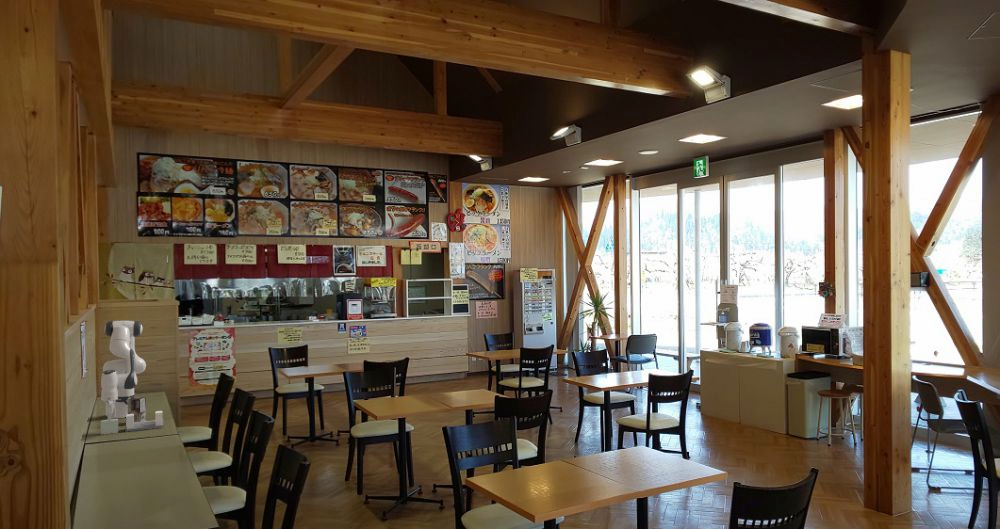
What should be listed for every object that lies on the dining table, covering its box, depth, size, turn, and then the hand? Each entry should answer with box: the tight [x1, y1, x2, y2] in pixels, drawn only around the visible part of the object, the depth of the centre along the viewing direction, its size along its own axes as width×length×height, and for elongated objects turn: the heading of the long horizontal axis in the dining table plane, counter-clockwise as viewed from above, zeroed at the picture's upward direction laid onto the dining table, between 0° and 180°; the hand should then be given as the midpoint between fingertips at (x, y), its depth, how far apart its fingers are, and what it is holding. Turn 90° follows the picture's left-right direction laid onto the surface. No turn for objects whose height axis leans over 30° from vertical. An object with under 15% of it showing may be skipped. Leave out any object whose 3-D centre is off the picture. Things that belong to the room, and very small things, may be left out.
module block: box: [100, 418, 119, 436], centre depth 411 cm, size 4×9×8 cm, turn 118°
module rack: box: [125, 410, 165, 433], centre depth 422 cm, size 9×21×10 cm, turn 118°
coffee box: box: [127, 396, 147, 423], centre depth 439 cm, size 9×6×16 cm
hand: (109, 419), depth 411 cm, fingers open, 8 cm apart
